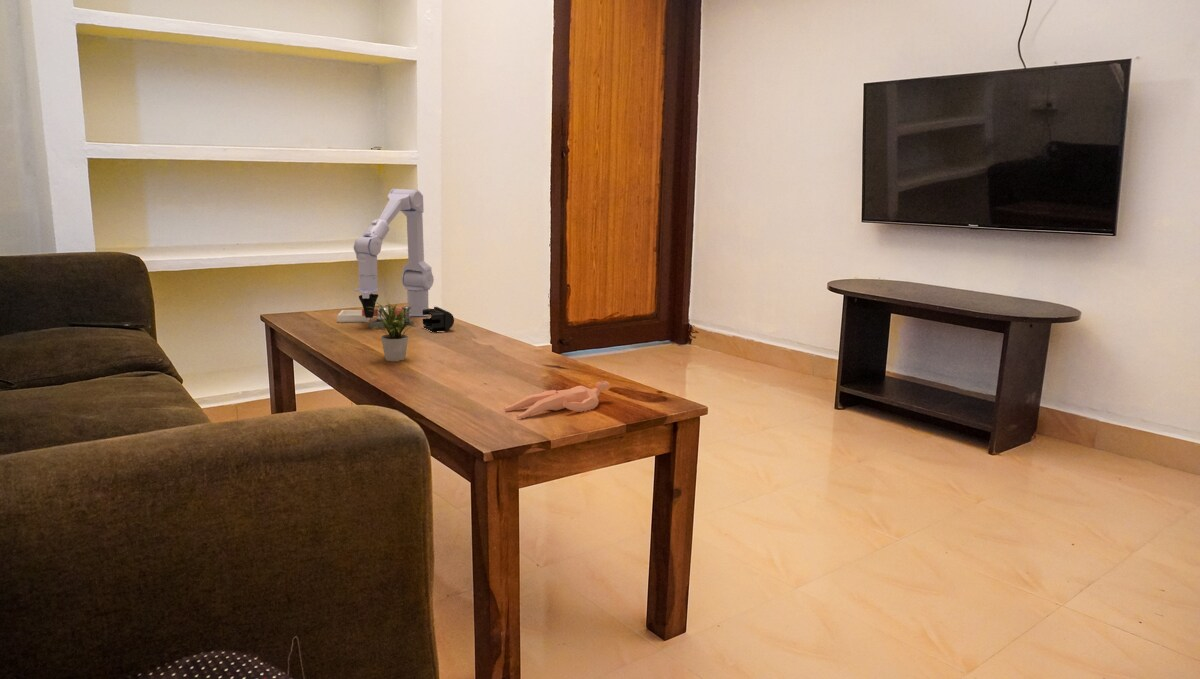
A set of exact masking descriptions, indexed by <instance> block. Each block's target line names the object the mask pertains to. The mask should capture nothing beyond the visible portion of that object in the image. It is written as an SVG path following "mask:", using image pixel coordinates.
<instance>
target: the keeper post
mask: <svg viewBox="0 0 1200 679" xmlns="http://www.w3.org/2000/svg"><path fill="white" fill-rule="evenodd" d="M407 307H408V306H407V305H406V306H401V309H403V311H404V312H405V310H406V309H407ZM410 309H411V307H408V309H407V312H406V314H405V315H404V317H403V319H405V318H406V319H407V320H406V319H405V320H404V322H402V326H403V325H404V324H405V323H409V322H412V323H411V324H409V325H408V326H414V321H413V320H411V317H412V316H409V315H408V314H409V310H410ZM404 312H403V313H404ZM407 315H408V316H407Z"/></svg>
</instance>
